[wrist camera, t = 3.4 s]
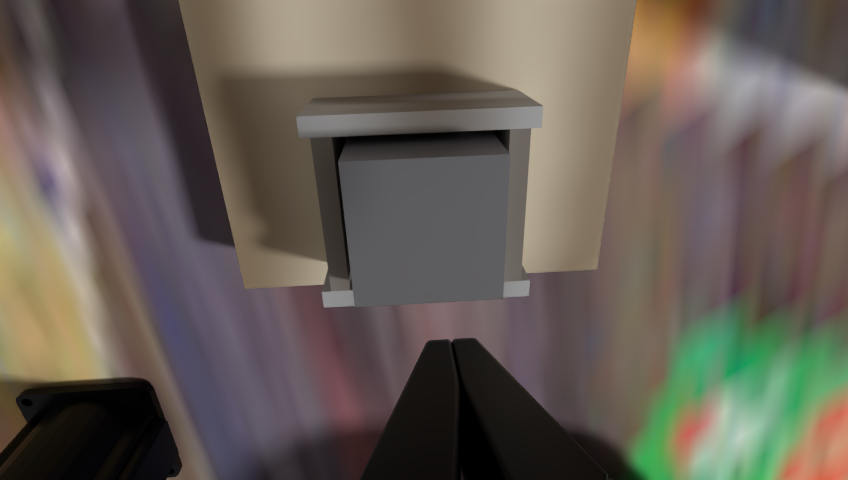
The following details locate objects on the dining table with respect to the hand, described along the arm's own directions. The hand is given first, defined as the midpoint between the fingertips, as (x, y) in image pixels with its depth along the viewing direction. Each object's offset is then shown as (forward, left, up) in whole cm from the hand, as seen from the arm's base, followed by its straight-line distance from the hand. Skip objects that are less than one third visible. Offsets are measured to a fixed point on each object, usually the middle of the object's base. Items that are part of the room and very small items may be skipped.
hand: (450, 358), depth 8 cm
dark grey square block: (0, 0, -8) cm, 8 cm away
